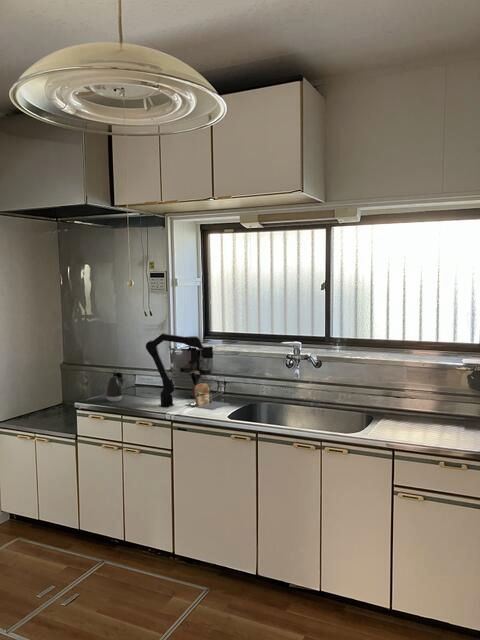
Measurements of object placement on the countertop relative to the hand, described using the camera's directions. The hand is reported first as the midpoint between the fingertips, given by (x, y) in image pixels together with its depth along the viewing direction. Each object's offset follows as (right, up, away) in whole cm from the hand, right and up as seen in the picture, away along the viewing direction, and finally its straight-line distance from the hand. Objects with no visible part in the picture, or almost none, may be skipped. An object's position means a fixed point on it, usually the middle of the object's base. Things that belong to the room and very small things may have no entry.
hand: (195, 385), depth 319 cm
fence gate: (+4, -11, 0) cm, 12 cm away
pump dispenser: (-50, -11, +15) cm, 53 cm away
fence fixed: (+5, -11, +8) cm, 14 cm away
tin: (+2, -10, +24) cm, 26 cm away
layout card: (+7, -12, +1) cm, 14 cm away
